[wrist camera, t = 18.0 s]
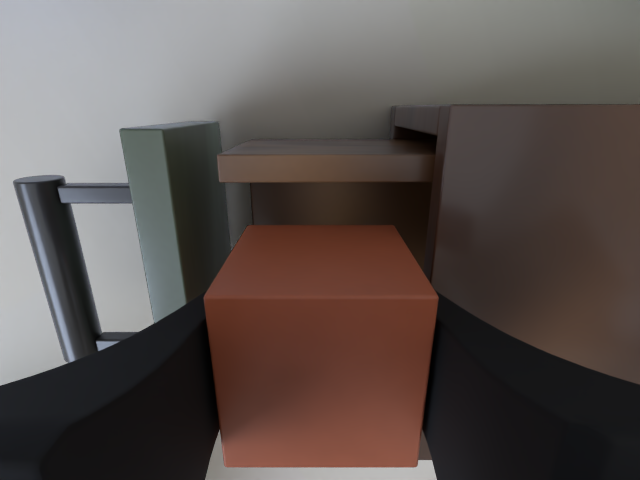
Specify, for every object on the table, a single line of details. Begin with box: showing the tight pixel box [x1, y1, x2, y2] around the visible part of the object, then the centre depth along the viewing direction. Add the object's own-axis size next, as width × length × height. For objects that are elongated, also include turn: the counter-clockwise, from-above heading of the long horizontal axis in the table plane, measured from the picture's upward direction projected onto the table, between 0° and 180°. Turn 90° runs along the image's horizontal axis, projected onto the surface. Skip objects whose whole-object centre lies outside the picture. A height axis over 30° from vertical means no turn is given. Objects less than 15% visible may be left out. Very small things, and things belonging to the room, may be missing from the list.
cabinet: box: [390, 104, 640, 460], centre depth 14 cm, size 14×12×8 cm
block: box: [204, 225, 439, 467], centre depth 10 cm, size 5×5×5 cm
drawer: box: [13, 121, 437, 363], centre depth 14 cm, size 17×10×6 cm, turn 90°
